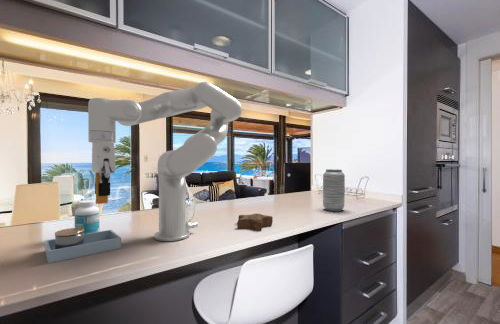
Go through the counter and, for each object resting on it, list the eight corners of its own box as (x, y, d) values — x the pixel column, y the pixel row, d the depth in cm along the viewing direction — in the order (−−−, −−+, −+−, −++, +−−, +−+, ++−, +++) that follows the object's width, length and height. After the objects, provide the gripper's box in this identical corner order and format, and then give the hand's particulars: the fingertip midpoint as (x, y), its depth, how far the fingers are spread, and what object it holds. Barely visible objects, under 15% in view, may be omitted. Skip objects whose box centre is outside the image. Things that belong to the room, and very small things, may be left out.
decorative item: (278, 217, 106) (250, 217, 97) (277, 232, 106) (248, 233, 97) (255, 211, 119) (228, 211, 110) (254, 224, 118) (227, 225, 109)
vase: (331, 212, 135) (331, 170, 135) (318, 208, 146) (319, 169, 146) (349, 211, 139) (349, 169, 139) (335, 207, 150) (335, 169, 150)
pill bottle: (70, 239, 88) (70, 201, 88) (93, 234, 94) (93, 198, 94) (80, 243, 84) (80, 203, 84) (103, 238, 90) (103, 200, 90)
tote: (111, 240, 88) (111, 229, 88) (121, 249, 79) (121, 237, 79) (45, 252, 76) (45, 240, 76) (48, 265, 67) (48, 251, 67)
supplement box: (108, 201, 83) (108, 171, 83) (107, 203, 80) (107, 172, 80) (96, 202, 82) (96, 171, 81) (95, 204, 78) (95, 172, 78)
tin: (82, 246, 80) (82, 226, 80) (86, 252, 75) (86, 231, 75) (53, 251, 76) (53, 230, 75) (56, 258, 70) (56, 236, 70)
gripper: (122, 137, 77) (123, 196, 77) (108, 140, 89) (108, 191, 89) (94, 135, 72) (94, 199, 72) (83, 138, 84) (83, 193, 84)
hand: (102, 194), depth 81 cm, fingers closed on supplement box, 4 cm apart
